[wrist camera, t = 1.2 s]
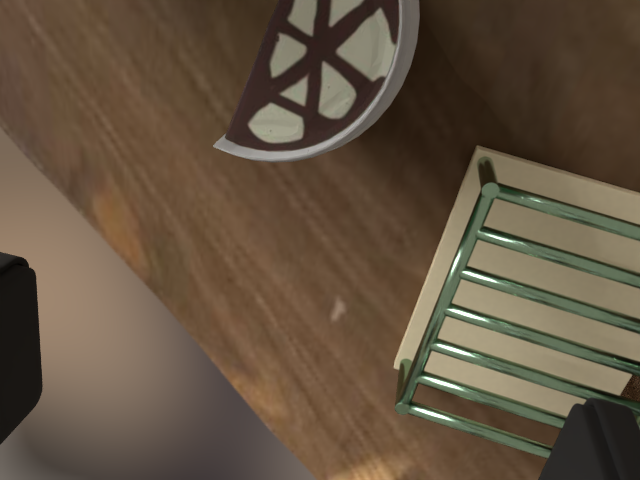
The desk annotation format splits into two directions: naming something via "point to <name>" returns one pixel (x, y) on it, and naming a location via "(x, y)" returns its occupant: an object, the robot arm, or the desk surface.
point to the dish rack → (527, 299)
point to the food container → (322, 77)
